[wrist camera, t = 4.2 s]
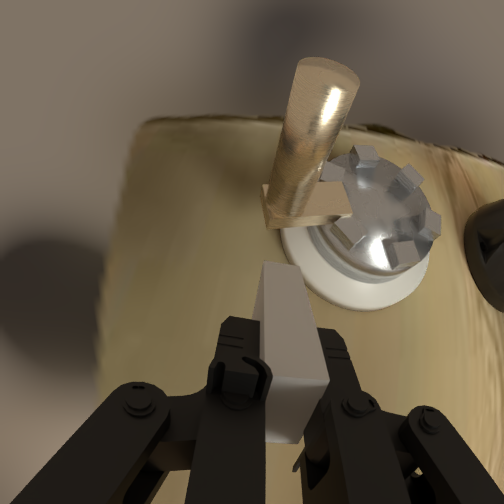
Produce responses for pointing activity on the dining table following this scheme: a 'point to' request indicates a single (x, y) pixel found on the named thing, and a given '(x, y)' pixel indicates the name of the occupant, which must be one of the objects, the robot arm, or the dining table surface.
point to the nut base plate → (338, 285)
